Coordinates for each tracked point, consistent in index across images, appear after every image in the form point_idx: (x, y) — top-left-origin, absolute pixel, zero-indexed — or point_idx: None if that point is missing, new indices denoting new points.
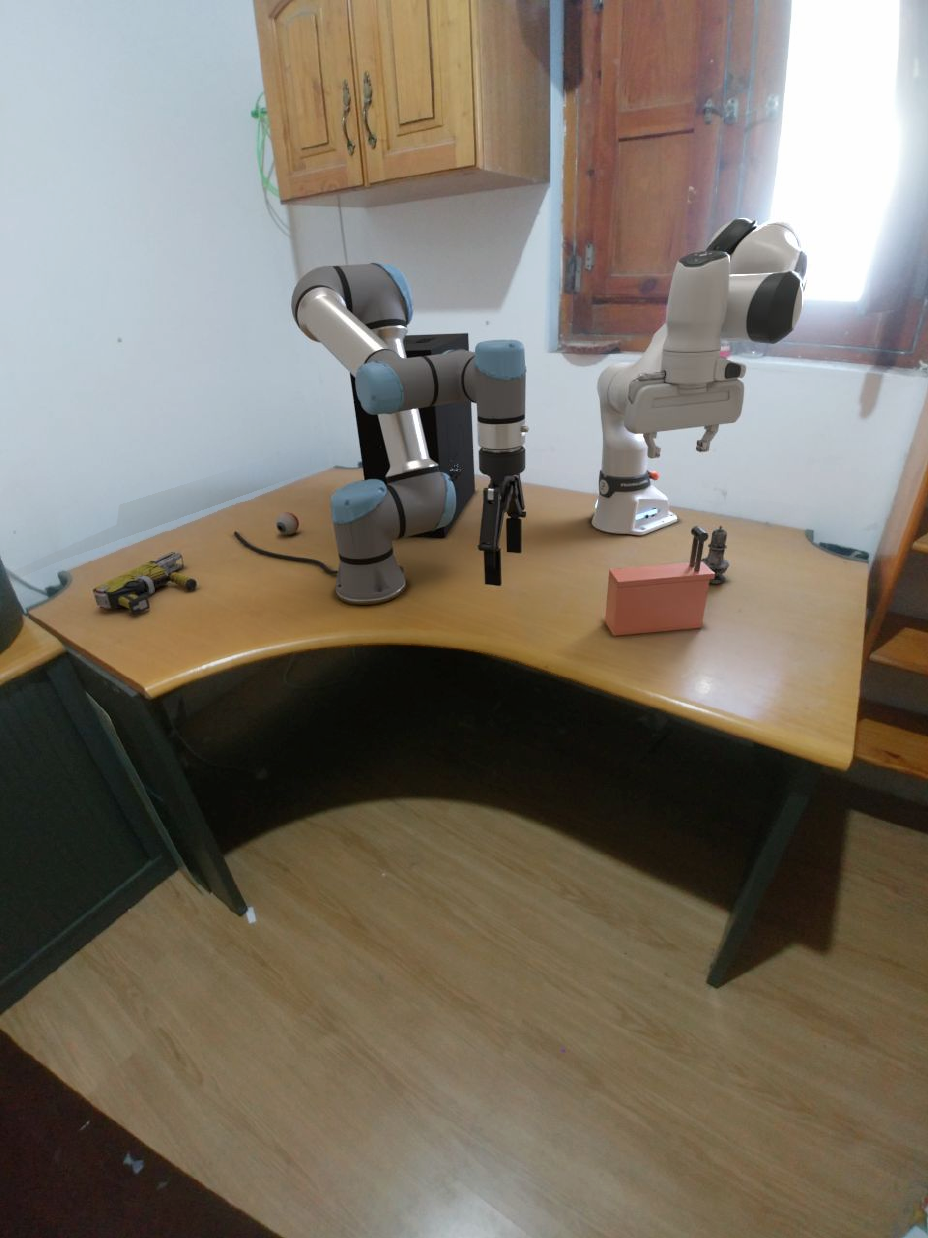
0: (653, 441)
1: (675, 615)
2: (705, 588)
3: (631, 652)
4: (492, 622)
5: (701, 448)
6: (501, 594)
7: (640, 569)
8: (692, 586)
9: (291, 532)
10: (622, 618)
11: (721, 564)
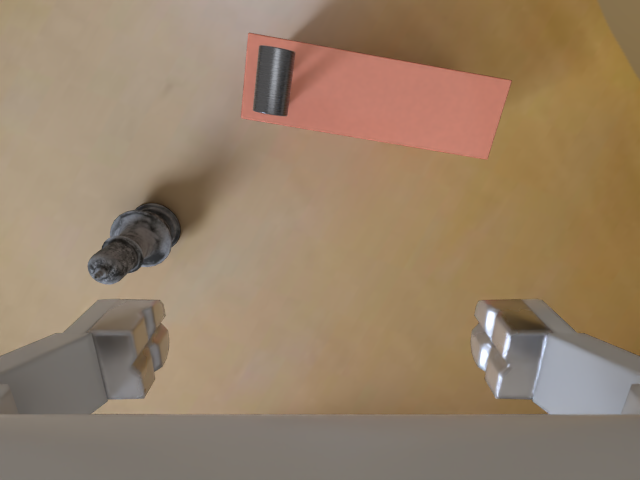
0: (630, 365)
1: None
2: None
3: (460, 9)
4: (631, 210)
5: (151, 313)
6: (559, 299)
7: (417, 129)
8: None
9: None
10: None
11: (133, 221)
